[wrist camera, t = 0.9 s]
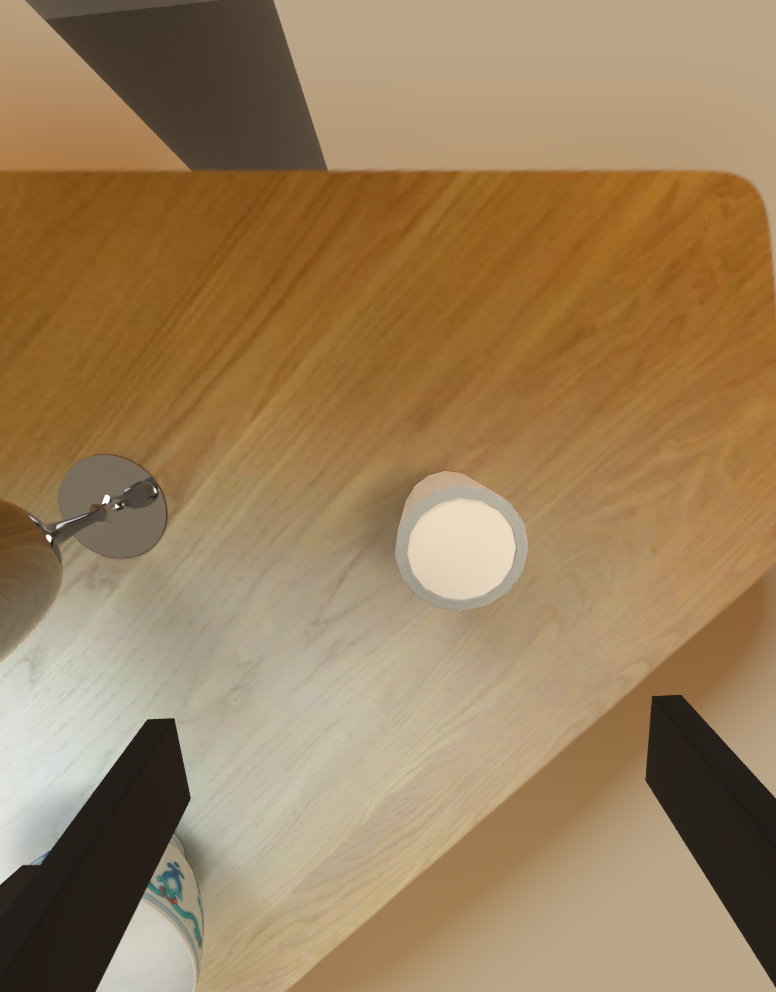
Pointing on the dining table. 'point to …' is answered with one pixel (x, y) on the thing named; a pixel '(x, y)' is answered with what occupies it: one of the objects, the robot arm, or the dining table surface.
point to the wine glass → (90, 519)
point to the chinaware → (160, 932)
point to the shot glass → (459, 542)
